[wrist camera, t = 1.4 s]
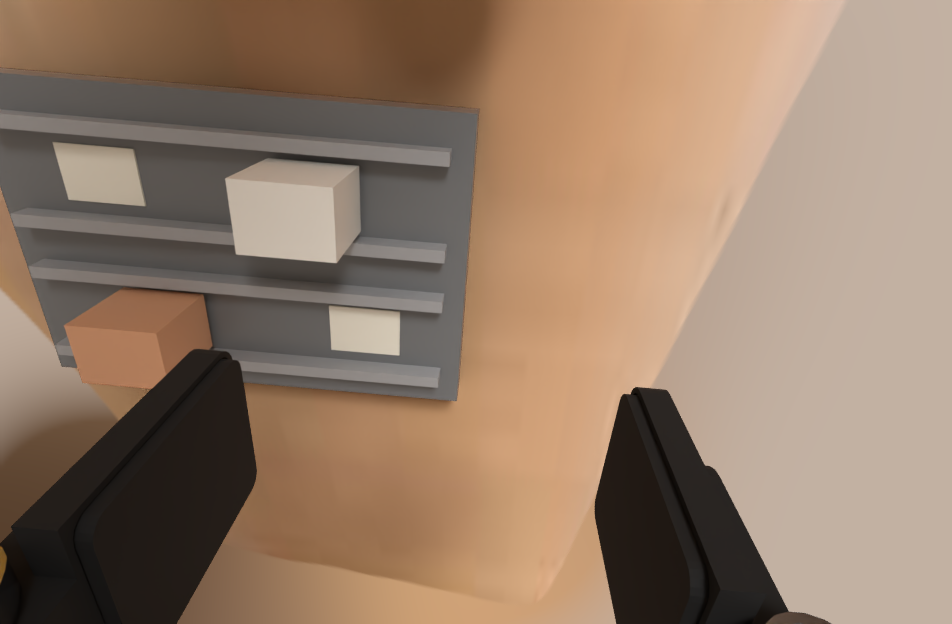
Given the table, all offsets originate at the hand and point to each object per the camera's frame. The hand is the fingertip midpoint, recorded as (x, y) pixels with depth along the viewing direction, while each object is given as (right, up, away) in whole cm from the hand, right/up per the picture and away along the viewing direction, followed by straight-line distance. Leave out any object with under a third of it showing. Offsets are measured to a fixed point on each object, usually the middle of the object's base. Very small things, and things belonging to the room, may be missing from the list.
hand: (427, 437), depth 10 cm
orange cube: (-15, +2, +17) cm, 23 cm away
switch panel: (-10, +6, +17) cm, 21 cm away
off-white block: (-6, +8, +14) cm, 17 cm away
